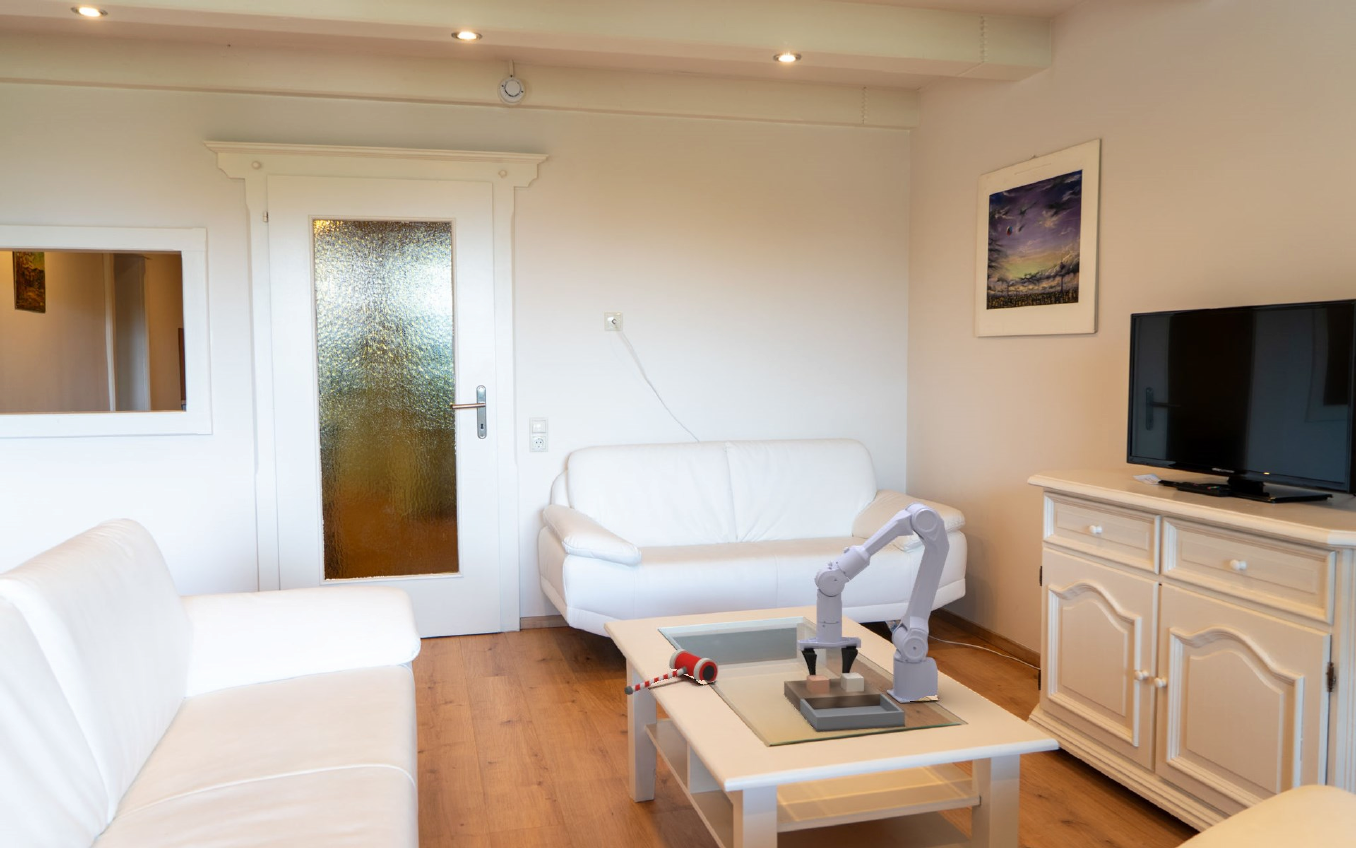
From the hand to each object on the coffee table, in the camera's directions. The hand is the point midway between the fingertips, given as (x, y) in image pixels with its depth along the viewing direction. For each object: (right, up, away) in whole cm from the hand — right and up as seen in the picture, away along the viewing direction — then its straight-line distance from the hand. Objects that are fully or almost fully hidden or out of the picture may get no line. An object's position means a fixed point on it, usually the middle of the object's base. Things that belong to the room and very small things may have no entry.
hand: (829, 679), depth 220 cm
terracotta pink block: (-3, 0, -5) cm, 6 cm away
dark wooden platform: (0, -4, -2) cm, 5 cm away
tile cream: (+5, 0, -4) cm, 6 cm away
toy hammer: (-35, -4, +11) cm, 37 cm away
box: (+2, -5, -14) cm, 15 cm away
